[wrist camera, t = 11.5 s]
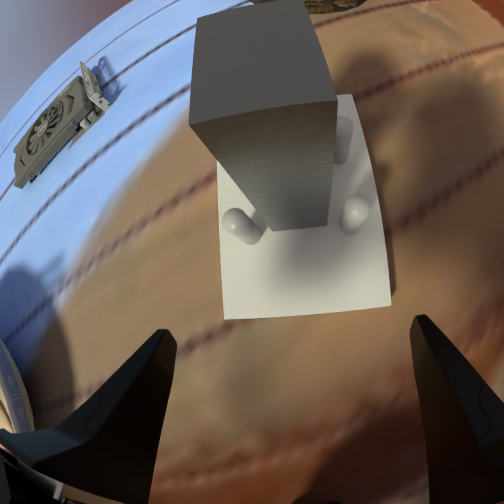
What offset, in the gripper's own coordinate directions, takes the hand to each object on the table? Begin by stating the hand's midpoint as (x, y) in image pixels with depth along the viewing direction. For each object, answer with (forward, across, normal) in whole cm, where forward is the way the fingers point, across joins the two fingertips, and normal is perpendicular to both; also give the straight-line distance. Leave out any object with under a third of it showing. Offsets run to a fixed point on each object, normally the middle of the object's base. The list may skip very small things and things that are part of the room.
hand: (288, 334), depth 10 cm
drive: (+12, 0, 0) cm, 12 cm away
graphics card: (+24, +28, -9) cm, 38 cm away
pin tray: (+13, 0, +1) cm, 13 cm away
